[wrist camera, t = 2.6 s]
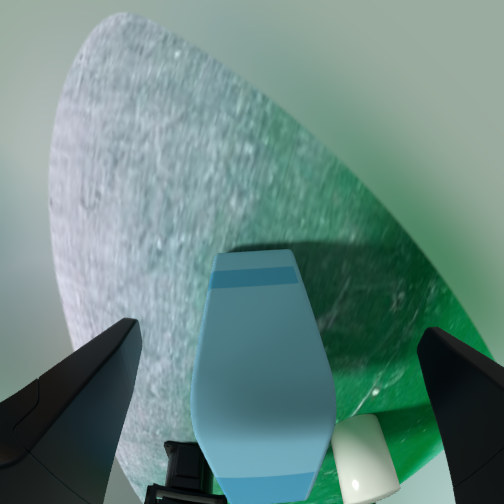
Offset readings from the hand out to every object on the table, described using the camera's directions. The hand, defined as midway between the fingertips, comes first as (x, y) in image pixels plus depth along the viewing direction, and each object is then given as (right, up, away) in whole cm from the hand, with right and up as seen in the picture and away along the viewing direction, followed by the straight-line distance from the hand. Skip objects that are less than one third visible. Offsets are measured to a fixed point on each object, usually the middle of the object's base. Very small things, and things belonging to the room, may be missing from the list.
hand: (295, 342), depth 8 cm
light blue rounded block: (-1, -2, +13) cm, 13 cm away
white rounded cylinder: (+11, -18, +20) cm, 29 cm away
